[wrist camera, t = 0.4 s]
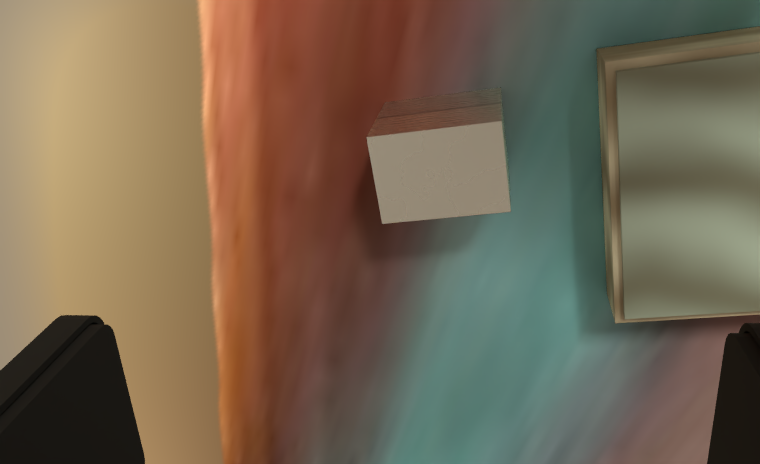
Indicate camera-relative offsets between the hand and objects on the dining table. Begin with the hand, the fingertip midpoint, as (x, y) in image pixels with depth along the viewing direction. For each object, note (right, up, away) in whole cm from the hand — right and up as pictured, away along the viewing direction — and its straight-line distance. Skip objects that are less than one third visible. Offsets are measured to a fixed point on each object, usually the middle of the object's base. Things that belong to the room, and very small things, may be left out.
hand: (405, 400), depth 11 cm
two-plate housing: (+4, +9, +33) cm, 34 cm away
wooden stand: (+22, +7, +31) cm, 38 cm away
